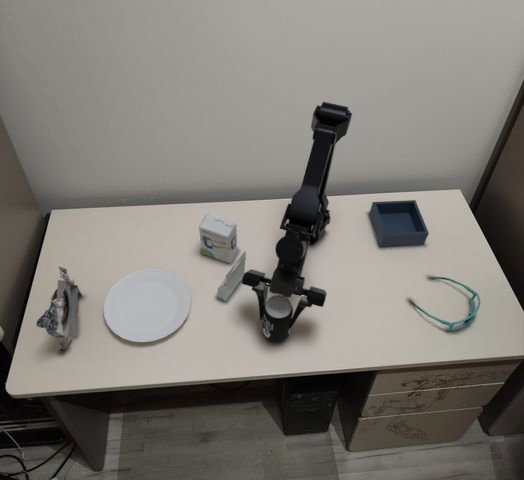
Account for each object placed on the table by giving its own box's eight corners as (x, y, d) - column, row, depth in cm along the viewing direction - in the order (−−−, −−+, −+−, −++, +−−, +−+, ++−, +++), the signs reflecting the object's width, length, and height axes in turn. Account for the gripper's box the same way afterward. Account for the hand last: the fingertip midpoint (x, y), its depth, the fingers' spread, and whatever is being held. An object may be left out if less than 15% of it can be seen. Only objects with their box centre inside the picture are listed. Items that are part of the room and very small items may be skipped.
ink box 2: (216, 298, 123) (215, 271, 114) (236, 272, 128) (236, 245, 119) (226, 303, 122) (225, 276, 113) (245, 277, 127) (246, 250, 118)
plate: (97, 288, 123) (95, 283, 122) (177, 263, 129) (176, 258, 127) (115, 359, 111) (113, 354, 110) (203, 328, 117) (202, 323, 116)
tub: (379, 247, 135) (383, 235, 131) (369, 213, 143) (372, 201, 139) (423, 245, 136) (428, 233, 132) (410, 211, 144) (415, 199, 140)
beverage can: (286, 347, 114) (290, 322, 105) (259, 341, 115) (260, 316, 105) (291, 322, 118) (295, 296, 109) (264, 317, 119) (266, 291, 109)
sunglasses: (458, 342, 117) (463, 331, 114) (404, 308, 125) (407, 297, 121) (484, 306, 124) (490, 294, 121) (431, 276, 131) (435, 264, 128)
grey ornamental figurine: (65, 297, 121) (50, 266, 111) (83, 297, 122) (69, 266, 111) (53, 353, 112) (35, 325, 102) (73, 352, 112) (56, 324, 102)
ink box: (237, 251, 133) (237, 222, 123) (229, 265, 130) (229, 236, 120) (209, 241, 134) (207, 212, 125) (200, 254, 131) (197, 226, 122)
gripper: (244, 250, 102) (227, 320, 104) (331, 274, 99) (312, 346, 101) (255, 245, 113) (239, 308, 115) (334, 266, 110) (316, 331, 112)
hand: (275, 323), depth 110 cm, fingers closed on beverage can, 6 cm apart
